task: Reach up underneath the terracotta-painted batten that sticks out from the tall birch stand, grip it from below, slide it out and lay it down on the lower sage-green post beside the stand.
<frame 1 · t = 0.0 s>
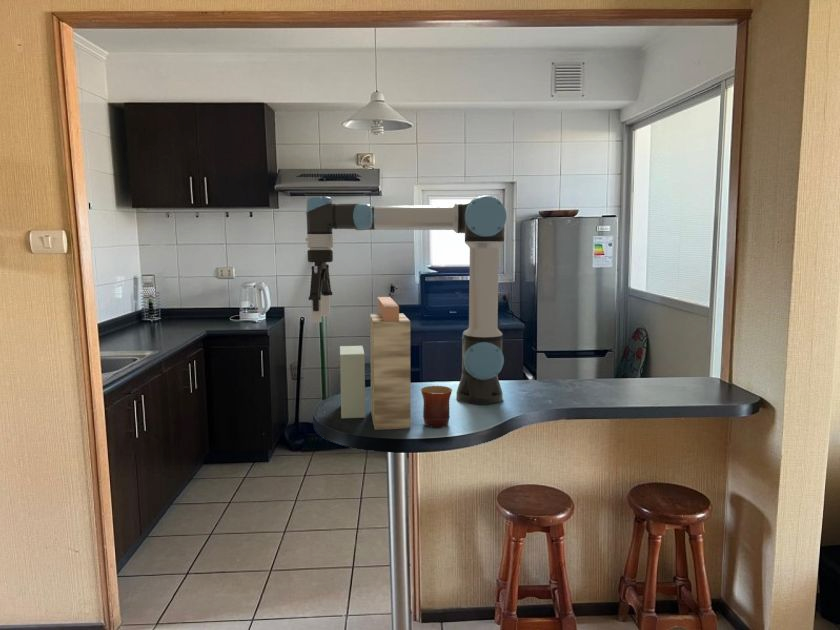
hand: (321, 319, 183), 28 cm above the counter, tool pointing down, fingers open, 13 cm apart
post low: (352, 411, 183), on the counter
batten: (387, 314, 177), point 30 cm above the counter, touching stand
mug: (434, 423, 172), on the counter
stand: (389, 419, 175), on the counter
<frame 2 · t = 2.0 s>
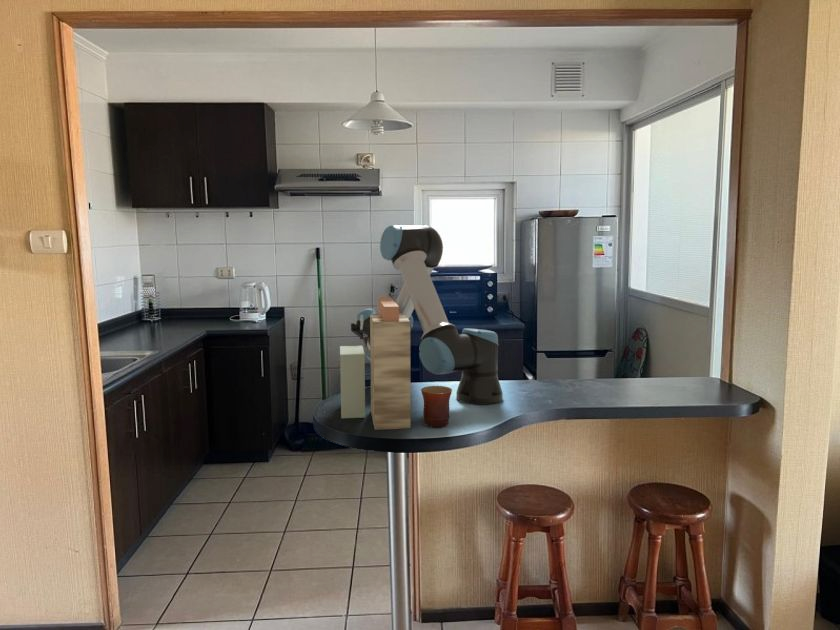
hand: (383, 318, 195), 27 cm above the counter, tool pointing upward, fingers open, 13 cm apart
nothing on the counter moved.
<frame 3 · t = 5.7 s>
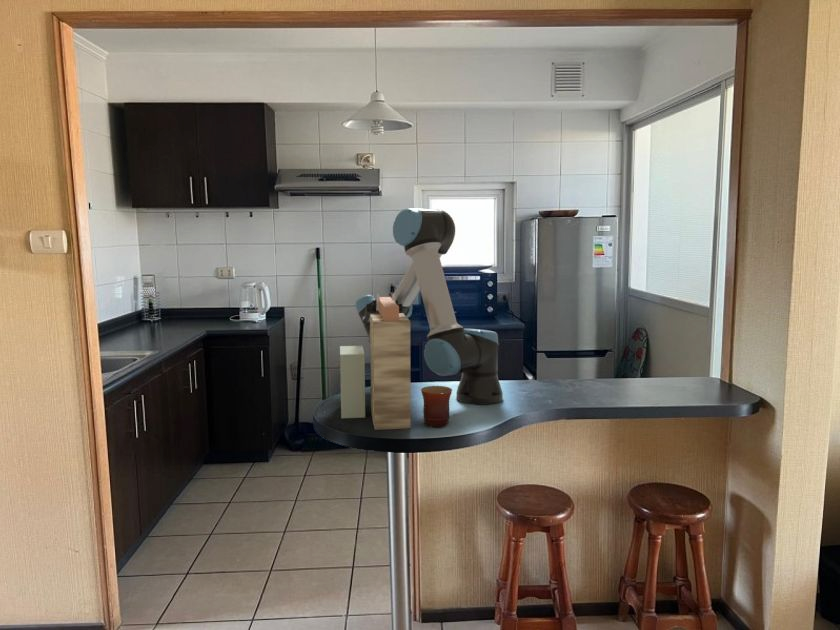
hand: (386, 297, 181), 35 cm above the counter, tool pointing upward, fingers closed on batten, 4 cm apart
batten: (387, 314, 177), point 30 cm above the counter, touching gripper, stand
everything else where it was.
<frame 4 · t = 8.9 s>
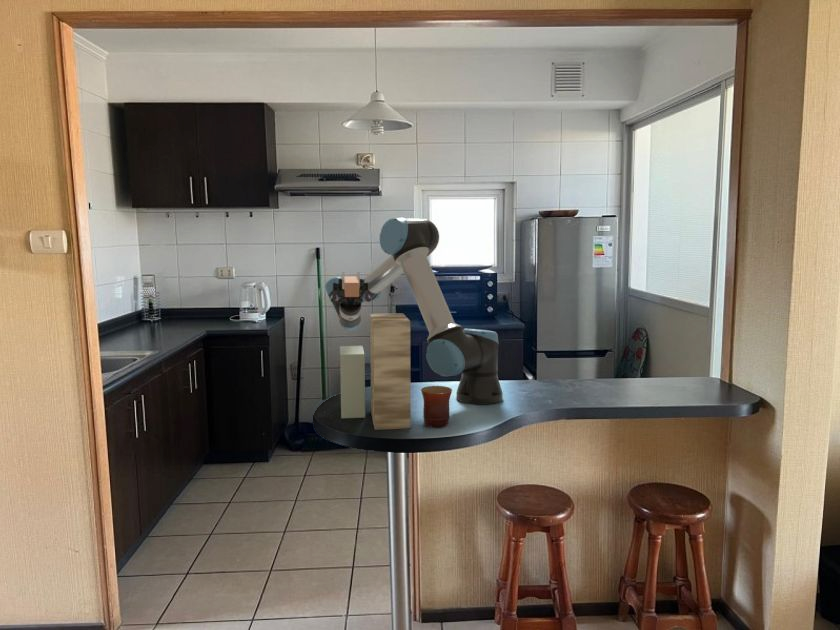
hand: (350, 276, 187), 41 cm above the counter, tool pointing upward, fingers closed on batten, 4 cm apart
batten: (351, 292, 183), point 36 cm above the counter, touching gripper
everything else where it was.
when the fingers open (25 cm above the counter, at t = 12.2 s): batten stays where it is, resting on post low.
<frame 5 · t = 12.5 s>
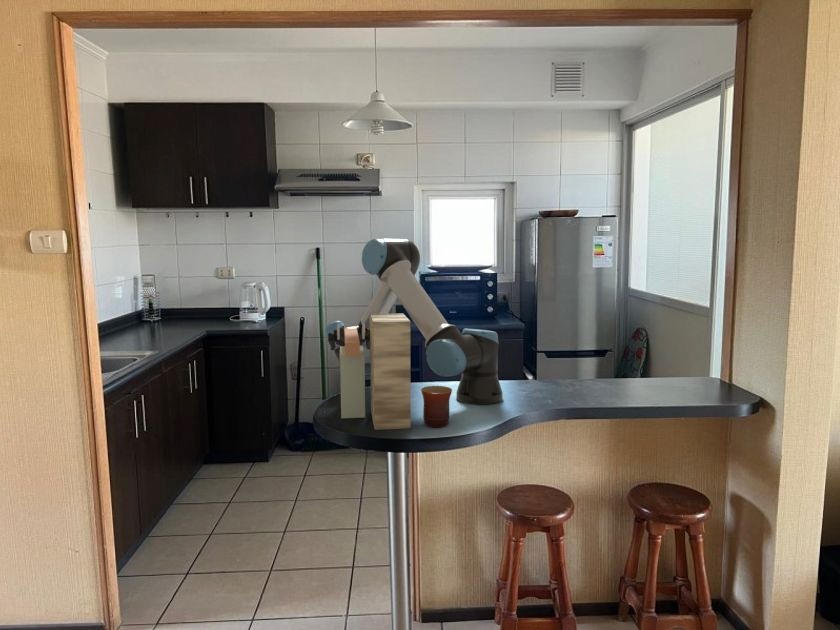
hand: (351, 327, 189), 24 cm above the counter, tool pointing upward, fingers open, 7 cm apart
batten: (351, 347, 185), point 19 cm above the counter, touching post low
everything else where it was.
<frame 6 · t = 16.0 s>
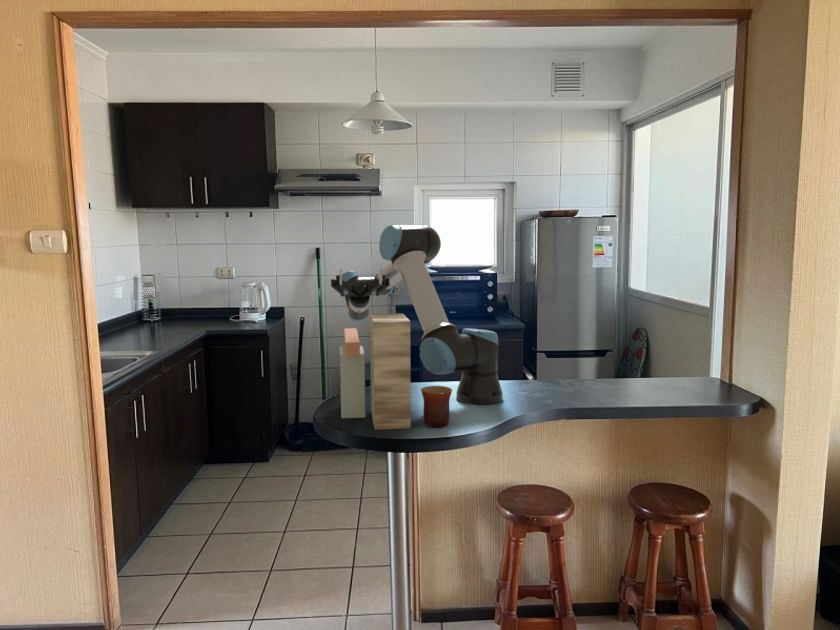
hand: (361, 272, 201), 41 cm above the counter, tool pointing upward, fingers open, 13 cm apart
nothing on the counter moved.
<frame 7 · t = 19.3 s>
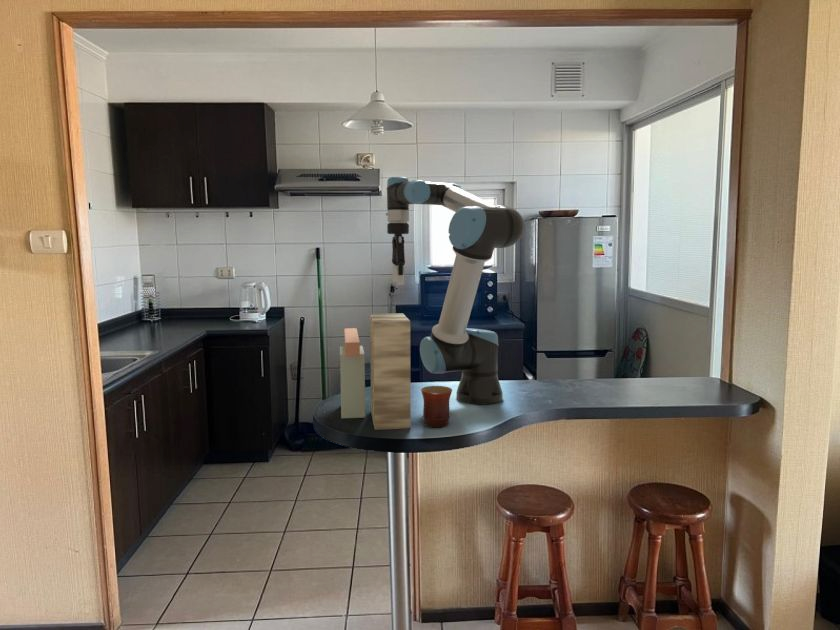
hand: (398, 283, 212), 37 cm above the counter, tool pointing down, fingers open, 13 cm apart
nothing on the counter moved.
at the end: batten inside the target area (0.0 cm from its centre), point 19.0 cm above the counter; batten touching post low; the gripper is holding nothing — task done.
